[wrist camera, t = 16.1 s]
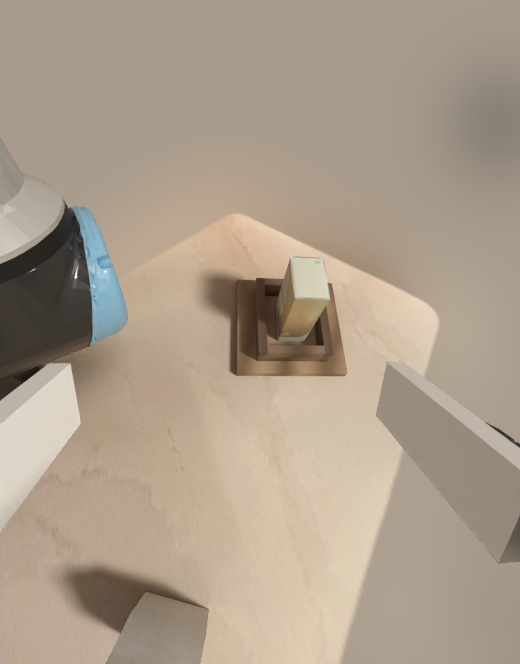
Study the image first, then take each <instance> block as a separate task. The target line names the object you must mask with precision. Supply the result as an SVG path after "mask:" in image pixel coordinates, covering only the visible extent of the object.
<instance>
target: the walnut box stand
mask: <svg viewBox="0 0 520 664" xmlns="http://www.w3.org/2000/svg"><path fill="white" fill-rule="evenodd" d="M283 280H284V279H268V278H256V280H237V376H345V375H346V374H347V369H346V363H345V357H344V351H343V346H342V340H341V334H340V328H339V322H338V317H337V311H336V305H335V299H334V294H333V288H332V284H331V283H328V288H329V295H330V300H329V301H328V303H327V305H326V306H325V308H324V309H323V311H322V313H321V314H320V316H319V318H318V319H317V321H316V322H315V324H314V326H313V327H312V329H311V330H310V332H309V334H308V335H307V337H306V339H305V340H304V341H278V340H277V333H276V322H275V305H276V302H277V299H278V296H279V293H280V290H281V287H282V283H283Z"/></svg>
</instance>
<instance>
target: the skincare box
mask: <svg viewBox="0 0 520 664" xmlns="http://www.w3.org/2000/svg"><path fill="white" fill-rule="evenodd" d="M329 300H330V295H329V288H328V281H327V275H326V270H325V264H324V258H317V257H293V256H292V257H291V258H290V261H289V264H288V268H287V271H286V274H285V277H284V280H283V283H282V287H281V290H280V293H279V296H278V299H277V302H276V305H275V322H276V333H277V340H278V341H304V340H305V339H306V337H307V335H308V334H309V332H310V330H311V329H312V327H313V326H314V324H315V322H316V321H317V319H318V318H319V316H320V314H321V313H322V311H323V309H324V308H325V306H326V305H327V303H328V301H329Z"/></svg>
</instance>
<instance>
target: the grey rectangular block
mask: <svg viewBox="0 0 520 664" xmlns="http://www.w3.org/2000/svg"><path fill="white" fill-rule="evenodd" d="M208 611H209V609H205V608H202V607H198V606H195V605H191V604H188V603H184V602H181V601H177V600H174V599H171V598H167V597H164V596H160V595H157V594H153V593H150V592H145V594H144V595H143V596H142V598H141V599H140V601H139V602H138V603H137V605H136V606H135V608H134V609H133V611H132V612H131V613H130V615H129V617H128V619H127V621H126V623H125V625H124V627H123V630H122V632H121V634H120V636H119V638H118V640H117V642H116V644H115V646H114V648H113V650H112V652H111V654H110V656H109V658H108V660H107V662H106V664H200V662H201V656H202V651H203V646H204V641H205V636H206V627H207V619H208Z"/></svg>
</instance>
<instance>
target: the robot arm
mask: <svg viewBox="0 0 520 664" xmlns="http://www.w3.org/2000/svg"><path fill="white" fill-rule="evenodd" d="M127 319H128V312H127V308H126V304H125V300H124V297H123V294H122V290H121V287H120V284H119V281H118V278H117V276H116V273H115V270H114V268H113V265H112V263H111V262H110V257H109V254H108V252H107V248H106V245H105V243H104V240H103V237H102V235H101V232H100V230H99V227H98V225H97V223H96V220H95V218H94V216H93V214H92V213H91V211H90V210H89V209H87V208H85V207H76V206H75V207H74V206H72V207H70V208H68V207H67V205H66V203H65V201H64V200H63V198H62V196H61V194H60V193H59V191H58V190H57V189H56V188H55V187H54V186H52V185H51V184H49V183H47V182H45V181H42V180H40V179H38V178H35V177H32V176H30V175H27V174H25V173H23V172H22V171H21V170H20V168H19V167H18V165H17V164H16V162H15V160H14V159H13V157H12V156H11V154H10V152H9V151H8V149H7V147H6V146H5V144H4V143H3V141H2V140H1V138H0V532H1V531H2V529H3V528H4V527H5V525H6V524H7V523H8V521H9V520H10V518H11V517H12V516H13V514H14V513H15V512H16V510H17V509H18V508H19V506H20V505H21V504H22V502H23V501H24V500H25V498H26V497H27V495H28V494H29V493H30V491H31V490H32V489H33V487H34V486H35V485H36V483H37V482H38V481H39V479H40V478H41V476H42V475H43V474H44V472H45V471H46V470H47V468H48V467H49V466H50V464H51V463H52V462H53V460H54V459H55V458H56V456H57V455H58V453H59V452H60V451H61V449H62V448H63V447H64V445H65V444H66V443H67V441H68V440H69V439H70V437H71V436H72V434H73V433H74V432H75V430H76V429H77V428H78V426H79V425H80V424H81V422H80V416H79V410H78V404H77V399H76V393H75V387H74V381H73V375H72V369H71V364H70V363H49V364H48V365H46V366H45V365H44V364H45V363H47V362H50V361H52V360H55V359H57V358H60V357H63V356H65V355H68V354H70V353H73V352H75V351H78V350H81V349H83V348H86V347H90V346H93V345H94V344H95V343H96V342H98V341H100V340H102V339H104V338H106V337H108V336H110V335H112V334H114V333H117V332H119V331H120V330H121V329H122V328H123V327H124V326H125V324H126V322H127ZM376 416H377V417H378V418H379V419H380V421H381V422H382V423H383V424H384V426H385V427H386V428H387V429H388V430H389V432H390V433H391V434H392V435H393V436H394V438H395V439H396V440H397V441H398V442H399V444H400V445H401V446H402V447H403V449H404V450H405V451H406V452H407V453H408V455H409V456H410V457H411V458H412V459H413V461H414V462H415V463H416V464H417V466H418V467H419V468H420V469H421V470H422V471H423V473H424V474H425V475H426V476H427V478H428V479H429V480H430V481H431V482H432V484H433V485H434V486H435V487H436V489H437V490H438V491H439V492H440V493H441V495H442V496H443V497H444V498H445V500H446V501H447V502H448V503H449V504H450V506H451V507H452V508H453V509H454V510H455V512H456V513H457V514H458V515H459V516H460V518H461V519H462V520H463V521H464V522H465V524H466V525H467V526H468V527H469V528H470V530H471V531H472V532H473V533H474V535H475V536H476V537H477V538H478V540H479V541H480V542H481V543H482V544H483V546H484V547H485V548H486V549H487V550H488V552H489V553H490V554H491V555H492V557H493V558H494V559H495V560H496V561H497V563H498V564H499V563H509V562H519V561H520V444H519V443H516V442H515V441H514V439H512V438H511V437H509V436H508V435H506V434H505V433H504V432H502V431H501V430H499V429H498V428H496V427H494V426H492V425H489V424H488V423H486V422H484V421H482V420H481V419H479V418H478V417H477V416H475V415H474V414H473V413H471V412H470V411H468V410H467V409H466V408H465V407H463V406H462V405H460V404H459V403H458V402H456V401H455V400H454V399H452V398H451V397H450V396H448V395H447V394H445V393H444V392H443V391H441V390H440V389H439V388H437V387H436V386H435V385H433V384H432V383H431V382H429V381H427V380H426V379H425V378H424V377H422V376H421V375H420V374H418V373H417V372H416V371H414V370H413V369H412V368H410V367H409V366H407V365H406V364H405V363H403V362H387V364H386V369H385V374H384V379H383V383H382V388H381V393H380V398H379V403H378V408H377V412H376Z"/></svg>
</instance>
